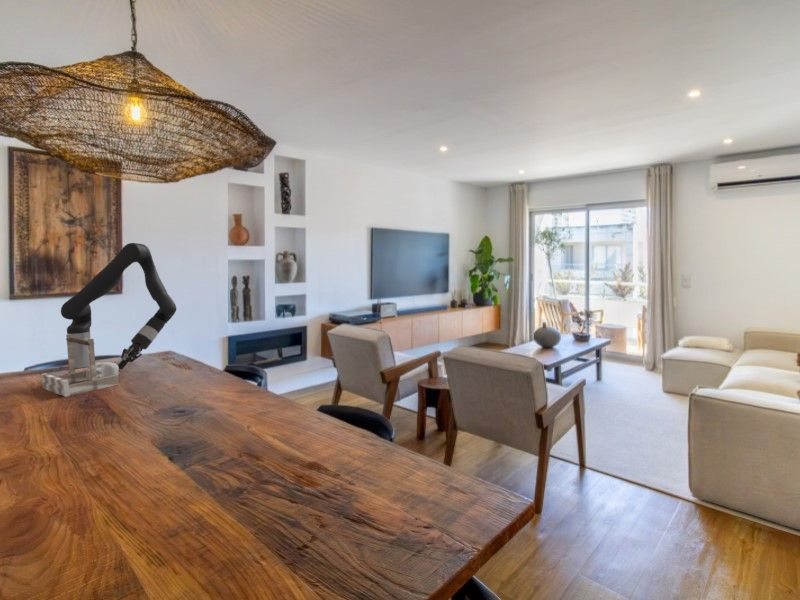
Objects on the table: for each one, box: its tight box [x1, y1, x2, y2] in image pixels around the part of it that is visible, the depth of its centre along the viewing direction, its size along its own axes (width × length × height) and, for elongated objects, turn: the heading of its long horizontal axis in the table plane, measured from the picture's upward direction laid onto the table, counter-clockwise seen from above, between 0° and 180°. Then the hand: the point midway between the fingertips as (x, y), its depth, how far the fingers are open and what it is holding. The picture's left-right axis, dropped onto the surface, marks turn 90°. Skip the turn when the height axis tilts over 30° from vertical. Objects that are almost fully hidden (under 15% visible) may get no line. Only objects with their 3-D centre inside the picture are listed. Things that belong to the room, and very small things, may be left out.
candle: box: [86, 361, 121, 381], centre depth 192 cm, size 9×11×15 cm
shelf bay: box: [41, 334, 120, 398], centre depth 183 cm, size 22×20×21 cm
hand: (119, 368), depth 196 cm, fingers closed
